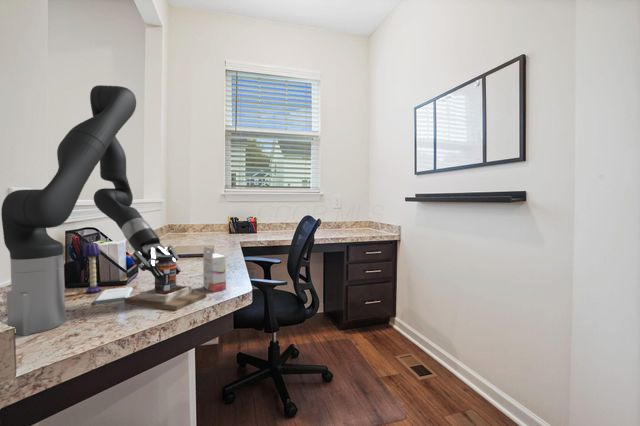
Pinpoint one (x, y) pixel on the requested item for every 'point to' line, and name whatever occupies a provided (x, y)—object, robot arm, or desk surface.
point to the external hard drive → (113, 295)
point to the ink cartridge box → (214, 270)
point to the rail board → (167, 298)
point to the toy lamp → (92, 266)
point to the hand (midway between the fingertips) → (170, 275)
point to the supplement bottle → (166, 275)
